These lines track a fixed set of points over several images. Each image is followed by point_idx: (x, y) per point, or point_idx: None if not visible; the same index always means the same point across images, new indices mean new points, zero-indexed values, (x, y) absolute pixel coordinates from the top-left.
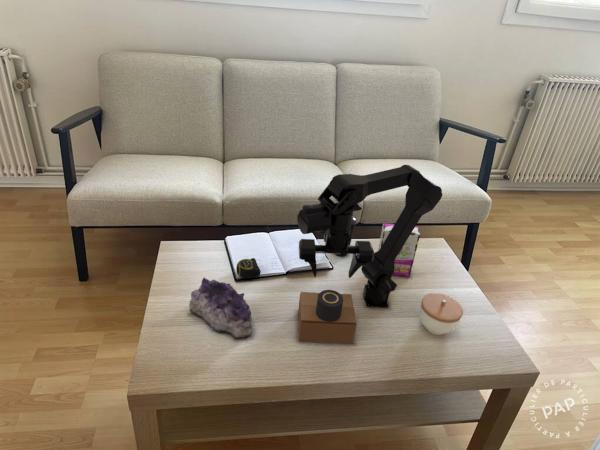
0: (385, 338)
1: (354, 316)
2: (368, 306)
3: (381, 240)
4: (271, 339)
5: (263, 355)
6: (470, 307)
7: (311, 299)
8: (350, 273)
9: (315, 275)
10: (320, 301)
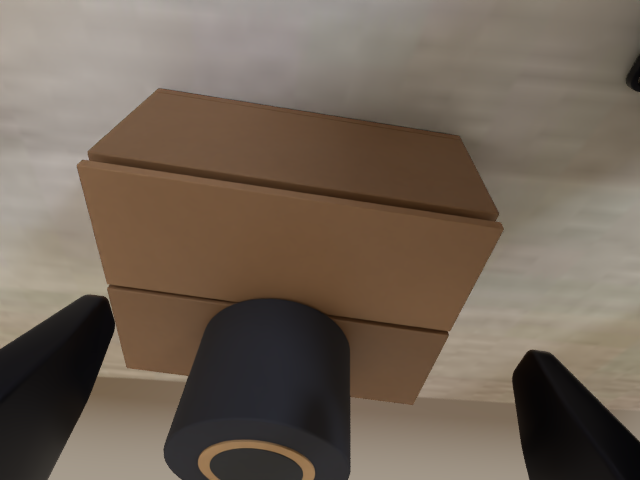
0: (556, 291)
1: (419, 379)
2: (635, 90)
3: None
4: (59, 247)
5: (53, 303)
6: None
7: (174, 249)
8: (532, 476)
9: (93, 363)
10: (183, 477)
